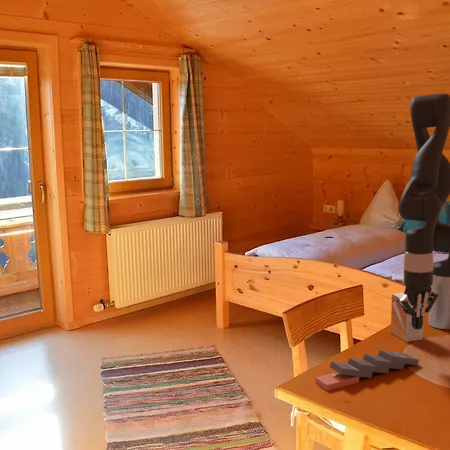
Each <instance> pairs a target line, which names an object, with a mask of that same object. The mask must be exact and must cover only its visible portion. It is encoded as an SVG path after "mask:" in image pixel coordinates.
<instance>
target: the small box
mask: <svg viewBox="0 0 450 450" xmlns="http://www.w3.org/2000/svg"><path fill="white" fill-rule="evenodd" d="M403 296H404V292H403V291H402V292H397V293H392V294H391V310H390V311H391V313H390V314H391V315H390V316H391V317H390V318H391V319H390V333H391V334H393V335H394V336H395V337H396V338H398V339H401V340H402V341H403V342H406V343H408V342H415V341H421V340H423V339H424V325H423V326H422V329H418V330H416V329H414V328H413V327H412V325H411V322H412V316H411V315H409V314H406V313H405V311H404V310H403V309H402V307H401V306H400V305H399V303H398V302H397V300H398V298H400V299H401V298H402V297H403ZM424 316H425V315H424ZM424 316H423V320H424Z"/></svg>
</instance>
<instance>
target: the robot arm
mask: <svg viewBox="0 0 450 450" xmlns="http://www.w3.org/2000/svg"><path fill="white" fill-rule="evenodd" d="M409 111H410V119H411V125H412V130H413V135H414V139H415V145H416V150H417V153H416V154H415V156H414V157H413V161H412V165H411V171H410V178H409V180H408V181H409V182H408V184H407V186H406V189H405V190H404V192H403V194H402V196H401V199H400V200H399V203H398V214H399V216H400V218H401V219H403V220H405V221H414V222H415V221H417V222H418V221H419V222H424V226H422V227H416V228H411V229H408V230H407V231H406V232H405V236H404V237H405V238H404V239H405V240H404V242H405V243H404V245H405V246H404V247H405V249H404V257H403V258H404V259H403V284H404V286H405V289H404V296H403V297H402V298H401V299H400V298H398V300H397V302H398V303H399V305H400V306H401V307H402V309H403V310H404V311H405V313H406V314H409V315H411V316H412V322H411V325H412V327H413V328H414V329H416V330H418V329H422V326H423V327H424V319H423V316H425V314H426V313H428V325H429V326H431V327H433V328H436V329H441V330H450V223H442V222H440V214H441V211H442V207H443V206H444V204H445V202H446V201H447V199H448V198H449V196H450V161H449V159H448V158H447V157H446V155H445V154H444V153H443V150H444V148H445V144H446V142H447V138H448V136H449V131H450V94H448V93H435V94H424V95H417V96H414V97H413V98H412V100H411V101H410V110H409ZM428 128H435V129H434V131H433V132H432V134H431V135H430V133H429V131H428ZM433 252H436V253H445V254H448V257H447V258H446V259H444V260H439V261H434V255H433Z"/></svg>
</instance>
